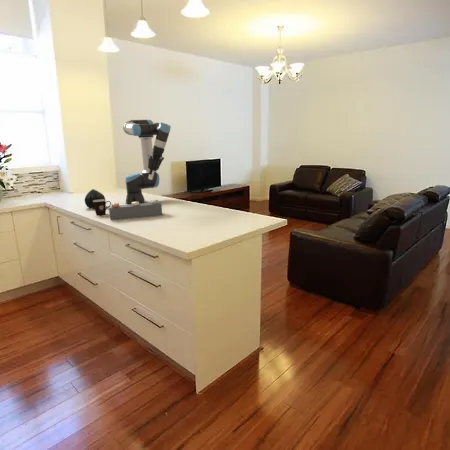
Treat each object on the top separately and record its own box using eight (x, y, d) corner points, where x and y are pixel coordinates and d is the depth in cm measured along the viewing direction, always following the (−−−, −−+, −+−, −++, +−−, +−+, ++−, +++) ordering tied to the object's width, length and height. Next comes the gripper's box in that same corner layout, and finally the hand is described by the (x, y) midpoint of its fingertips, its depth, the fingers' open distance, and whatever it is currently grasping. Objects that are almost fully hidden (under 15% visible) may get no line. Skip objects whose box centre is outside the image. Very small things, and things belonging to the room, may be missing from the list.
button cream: (139, 207, 233) (138, 201, 231) (139, 209, 228) (138, 202, 227) (132, 208, 232) (131, 201, 230) (132, 210, 227) (131, 203, 226)
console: (161, 213, 238) (160, 201, 236) (162, 215, 232) (161, 203, 230) (111, 217, 231) (109, 206, 229) (110, 220, 224) (108, 208, 222)
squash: (96, 203, 253) (101, 186, 260) (78, 204, 257) (83, 187, 263) (106, 212, 266) (110, 195, 272) (89, 213, 269) (93, 196, 276)
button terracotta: (119, 209, 230) (119, 202, 229) (119, 211, 225) (118, 204, 224) (112, 210, 229) (111, 203, 228) (112, 211, 224) (111, 204, 223)
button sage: (158, 206, 236) (158, 199, 234) (159, 207, 231) (158, 201, 230) (151, 206, 234) (151, 200, 233) (152, 208, 230) (151, 201, 229)
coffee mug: (93, 216, 237) (91, 202, 235) (95, 213, 245) (93, 199, 243) (110, 214, 239) (109, 200, 237) (112, 212, 248) (110, 198, 245)
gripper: (156, 147, 223) (146, 180, 230) (169, 149, 233) (160, 181, 241) (148, 143, 226) (139, 176, 233) (162, 145, 237) (153, 177, 244)
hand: (150, 178), depth 237 cm, fingers closed
